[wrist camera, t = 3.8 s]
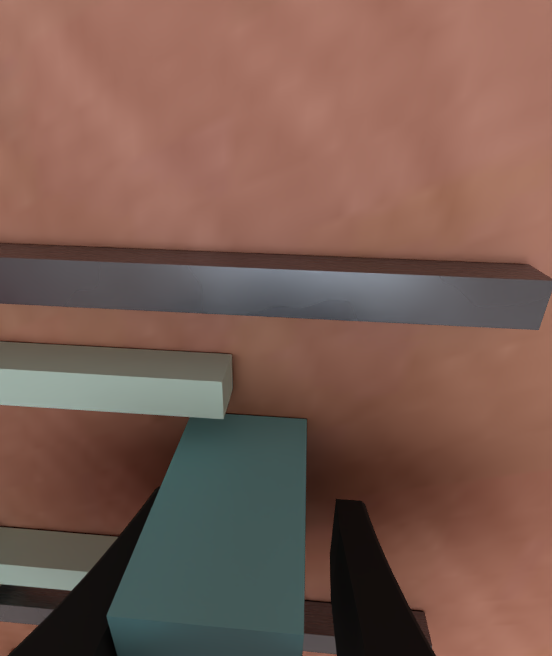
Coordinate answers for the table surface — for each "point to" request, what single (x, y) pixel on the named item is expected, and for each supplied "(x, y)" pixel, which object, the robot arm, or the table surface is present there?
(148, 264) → the lane rails
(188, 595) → the two-compartment tray
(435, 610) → the table surface
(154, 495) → the robot arm
